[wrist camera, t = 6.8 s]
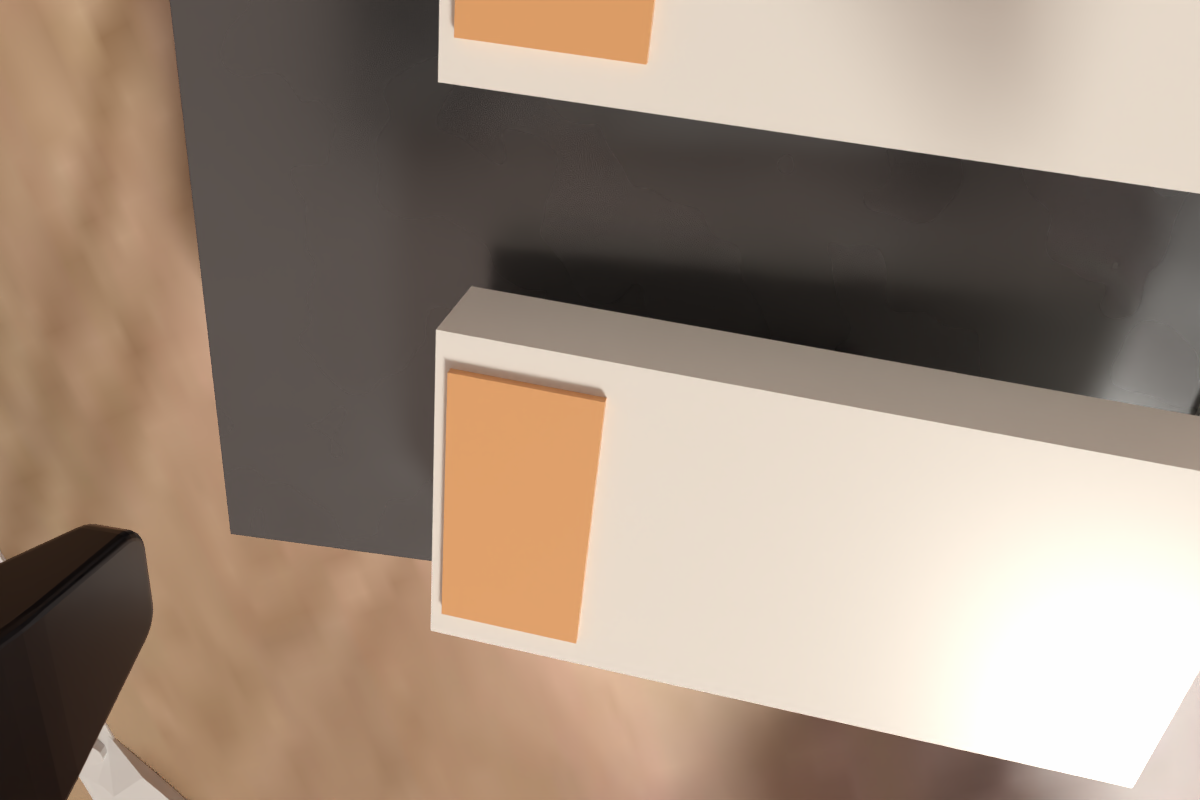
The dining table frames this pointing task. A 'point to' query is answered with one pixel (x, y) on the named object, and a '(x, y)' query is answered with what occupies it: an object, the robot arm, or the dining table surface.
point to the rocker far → (818, 531)
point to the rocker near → (870, 72)
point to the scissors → (120, 771)
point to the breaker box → (599, 251)
